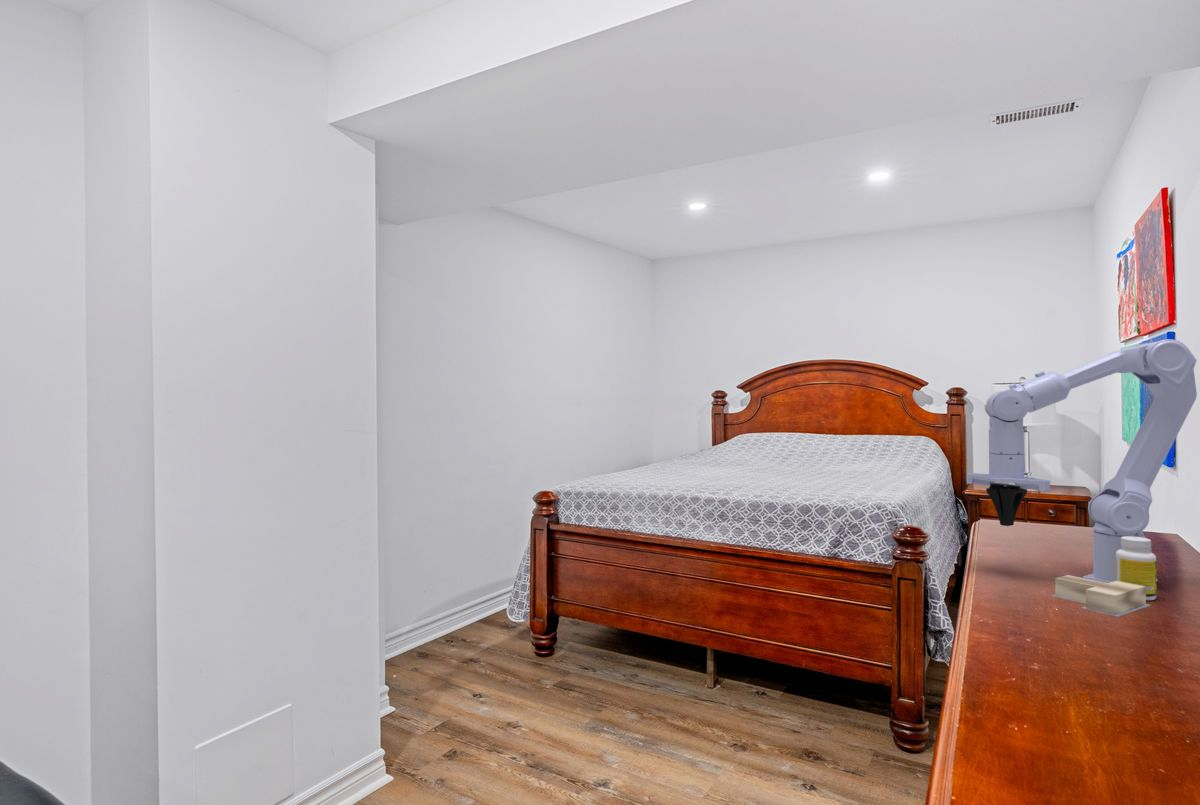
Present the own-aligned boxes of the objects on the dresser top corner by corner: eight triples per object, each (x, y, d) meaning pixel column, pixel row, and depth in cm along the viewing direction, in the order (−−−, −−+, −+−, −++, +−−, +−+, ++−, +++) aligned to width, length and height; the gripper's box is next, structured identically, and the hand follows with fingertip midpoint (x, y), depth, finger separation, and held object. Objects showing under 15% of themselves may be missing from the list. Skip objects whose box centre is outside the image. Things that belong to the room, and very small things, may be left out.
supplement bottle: (1164, 602, 109) (1164, 542, 109) (1126, 600, 111) (1126, 541, 111) (1144, 592, 115) (1144, 535, 115) (1108, 591, 116) (1108, 534, 116)
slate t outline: (1075, 590, 118) (1075, 588, 118) (1151, 606, 108) (1151, 605, 108) (1041, 600, 112) (1041, 598, 112) (1117, 618, 103) (1117, 616, 103)
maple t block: (1077, 589, 117) (1076, 572, 117) (1145, 604, 108) (1145, 586, 108) (1045, 598, 112) (1045, 580, 112) (1114, 615, 103) (1114, 595, 103)
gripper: (957, 452, 132) (957, 521, 132) (1034, 457, 119) (1035, 533, 119) (978, 450, 135) (979, 517, 135) (1056, 455, 122) (1056, 529, 122)
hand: (1006, 525), depth 127 cm, fingers closed
